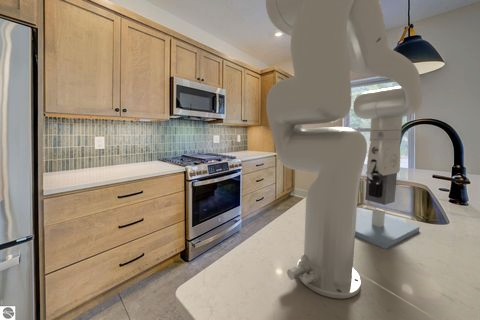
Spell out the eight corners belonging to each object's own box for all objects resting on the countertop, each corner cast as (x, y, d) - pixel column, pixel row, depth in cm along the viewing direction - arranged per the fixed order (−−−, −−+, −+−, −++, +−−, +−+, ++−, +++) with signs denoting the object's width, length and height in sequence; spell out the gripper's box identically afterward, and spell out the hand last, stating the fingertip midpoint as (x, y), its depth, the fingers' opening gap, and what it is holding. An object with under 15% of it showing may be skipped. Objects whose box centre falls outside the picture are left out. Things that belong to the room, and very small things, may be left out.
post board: (385, 249, 52) (387, 225, 52) (337, 227, 65) (338, 208, 64) (419, 231, 62) (421, 211, 61) (371, 215, 74) (372, 198, 73)
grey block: (384, 204, 58) (387, 174, 57) (365, 199, 63) (367, 171, 62) (394, 201, 61) (397, 172, 60) (374, 196, 66) (376, 170, 65)
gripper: (383, 136, 52) (378, 203, 55) (413, 136, 61) (407, 194, 63) (355, 136, 59) (351, 196, 61) (385, 136, 67) (381, 188, 69)
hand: (380, 194), depth 62 cm, fingers closed on grey block, 5 cm apart
